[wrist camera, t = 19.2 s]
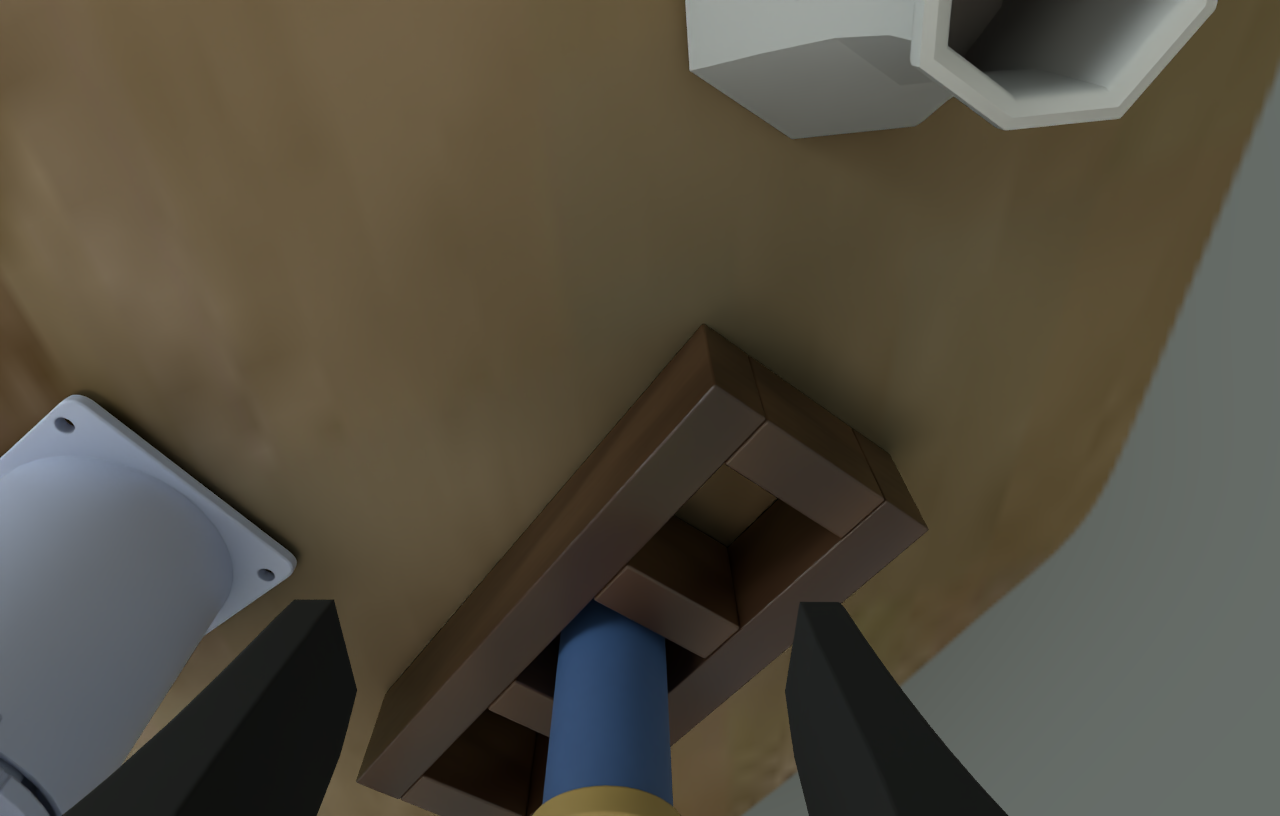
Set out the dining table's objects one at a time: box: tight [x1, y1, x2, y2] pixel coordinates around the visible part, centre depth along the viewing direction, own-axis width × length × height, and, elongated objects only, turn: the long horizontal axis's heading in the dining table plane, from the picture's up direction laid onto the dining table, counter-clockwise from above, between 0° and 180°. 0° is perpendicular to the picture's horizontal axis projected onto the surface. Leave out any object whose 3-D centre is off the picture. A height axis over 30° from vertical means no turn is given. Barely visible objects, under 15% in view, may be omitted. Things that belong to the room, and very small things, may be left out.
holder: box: [356, 324, 928, 816], centre depth 24 cm, size 7×18×4 cm, turn 143°
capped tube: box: [533, 598, 681, 816], centre depth 21 cm, size 4×4×9 cm
